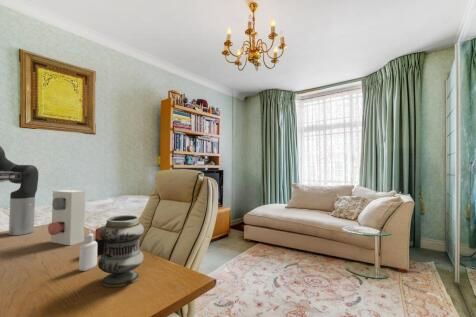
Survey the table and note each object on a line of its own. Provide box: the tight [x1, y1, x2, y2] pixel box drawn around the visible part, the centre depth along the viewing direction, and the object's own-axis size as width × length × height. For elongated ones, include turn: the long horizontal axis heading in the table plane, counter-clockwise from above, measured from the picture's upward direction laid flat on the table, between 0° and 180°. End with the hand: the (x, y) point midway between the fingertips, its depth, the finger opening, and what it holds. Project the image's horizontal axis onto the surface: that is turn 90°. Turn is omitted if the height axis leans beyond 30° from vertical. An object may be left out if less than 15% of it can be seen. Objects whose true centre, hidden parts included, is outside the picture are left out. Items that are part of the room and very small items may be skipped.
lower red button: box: [47, 222, 65, 236], centre depth 104 cm, size 7×5×5 cm
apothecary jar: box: [97, 214, 145, 288], centre depth 72 cm, size 12×12×18 cm
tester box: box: [50, 189, 86, 246], centre depth 107 cm, size 6×12×22 cm, turn 69°
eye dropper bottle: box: [78, 230, 98, 272], centre depth 80 cm, size 4×6×12 cm
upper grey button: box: [52, 198, 65, 210], centre depth 106 cm, size 7×5×5 cm
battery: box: [94, 225, 105, 256], centre depth 95 cm, size 4×7×10 cm, turn 138°
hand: (29, 175), depth 98 cm, fingers closed
